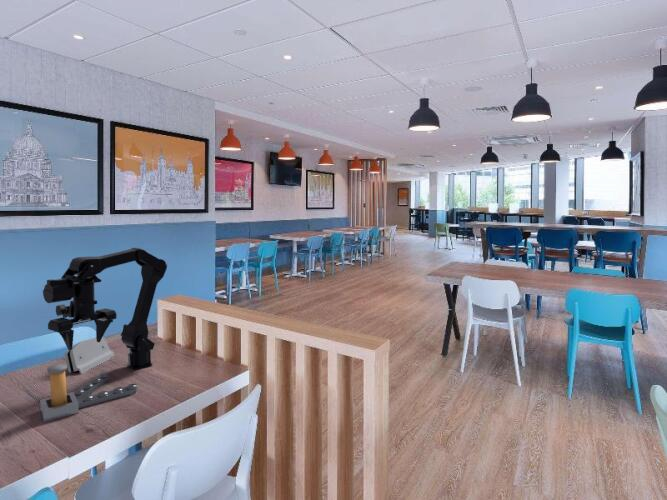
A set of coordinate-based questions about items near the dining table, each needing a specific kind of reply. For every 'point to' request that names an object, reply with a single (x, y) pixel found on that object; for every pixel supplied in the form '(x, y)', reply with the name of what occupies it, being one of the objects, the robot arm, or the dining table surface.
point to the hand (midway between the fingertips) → (84, 345)
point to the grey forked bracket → (84, 398)
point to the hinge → (87, 355)
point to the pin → (58, 384)
